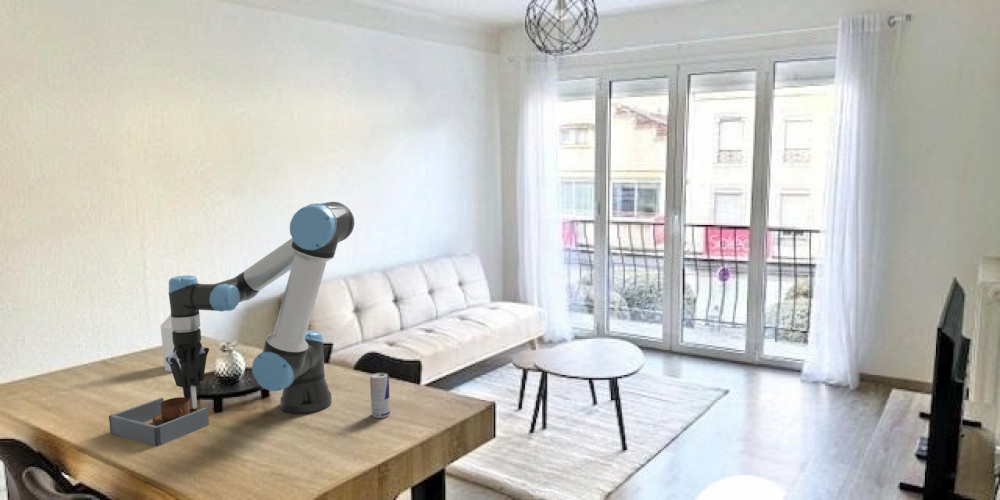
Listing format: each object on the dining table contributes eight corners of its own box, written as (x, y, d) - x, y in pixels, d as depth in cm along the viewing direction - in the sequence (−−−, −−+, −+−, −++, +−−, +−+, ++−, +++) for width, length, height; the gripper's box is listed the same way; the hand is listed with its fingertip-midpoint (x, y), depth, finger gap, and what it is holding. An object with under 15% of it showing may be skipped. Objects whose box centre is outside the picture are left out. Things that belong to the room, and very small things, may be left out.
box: (208, 424, 189) (207, 407, 189) (157, 446, 175) (156, 428, 175) (162, 413, 198) (161, 397, 198) (110, 433, 184) (108, 415, 184)
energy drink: (393, 412, 197) (391, 373, 195) (385, 419, 192) (383, 378, 190) (376, 410, 198) (375, 371, 197) (368, 417, 193) (366, 377, 191)
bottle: (157, 368, 243) (151, 301, 240) (187, 360, 253) (182, 295, 250) (175, 373, 237) (170, 304, 233) (206, 365, 246) (201, 299, 243)
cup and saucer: (208, 418, 194) (206, 398, 193) (171, 433, 184) (169, 412, 183) (181, 411, 200) (179, 392, 199) (143, 426, 189) (142, 405, 189)
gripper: (196, 322, 200) (202, 398, 204) (157, 332, 189) (163, 412, 192) (214, 325, 197) (219, 402, 200) (174, 336, 186) (180, 417, 189)
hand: (192, 407), depth 196 cm, fingers closed
